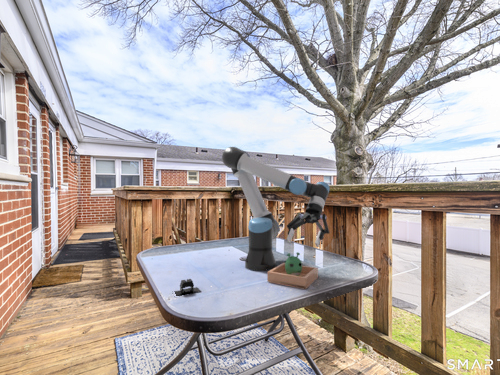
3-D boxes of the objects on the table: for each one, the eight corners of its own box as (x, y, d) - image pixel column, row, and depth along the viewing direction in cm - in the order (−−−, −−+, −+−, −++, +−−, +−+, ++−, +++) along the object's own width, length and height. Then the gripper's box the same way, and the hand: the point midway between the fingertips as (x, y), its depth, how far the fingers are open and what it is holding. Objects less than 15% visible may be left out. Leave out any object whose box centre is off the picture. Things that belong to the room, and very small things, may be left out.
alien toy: (289, 280, 100) (288, 255, 100) (282, 274, 107) (282, 251, 107) (305, 279, 101) (305, 254, 101) (298, 273, 109) (297, 250, 109)
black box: (200, 287, 97) (200, 275, 97) (206, 293, 91) (206, 281, 91) (167, 293, 91) (167, 280, 91) (171, 300, 85) (171, 287, 85)
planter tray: (267, 281, 101) (267, 271, 102) (283, 271, 115) (283, 262, 115) (305, 289, 93) (305, 278, 93) (317, 277, 107) (317, 267, 107)
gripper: (342, 213, 117) (332, 251, 105) (294, 211, 133) (280, 244, 120) (339, 202, 113) (327, 241, 101) (289, 201, 129) (274, 235, 116)
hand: (301, 243), depth 111 cm, fingers open, 13 cm apart
